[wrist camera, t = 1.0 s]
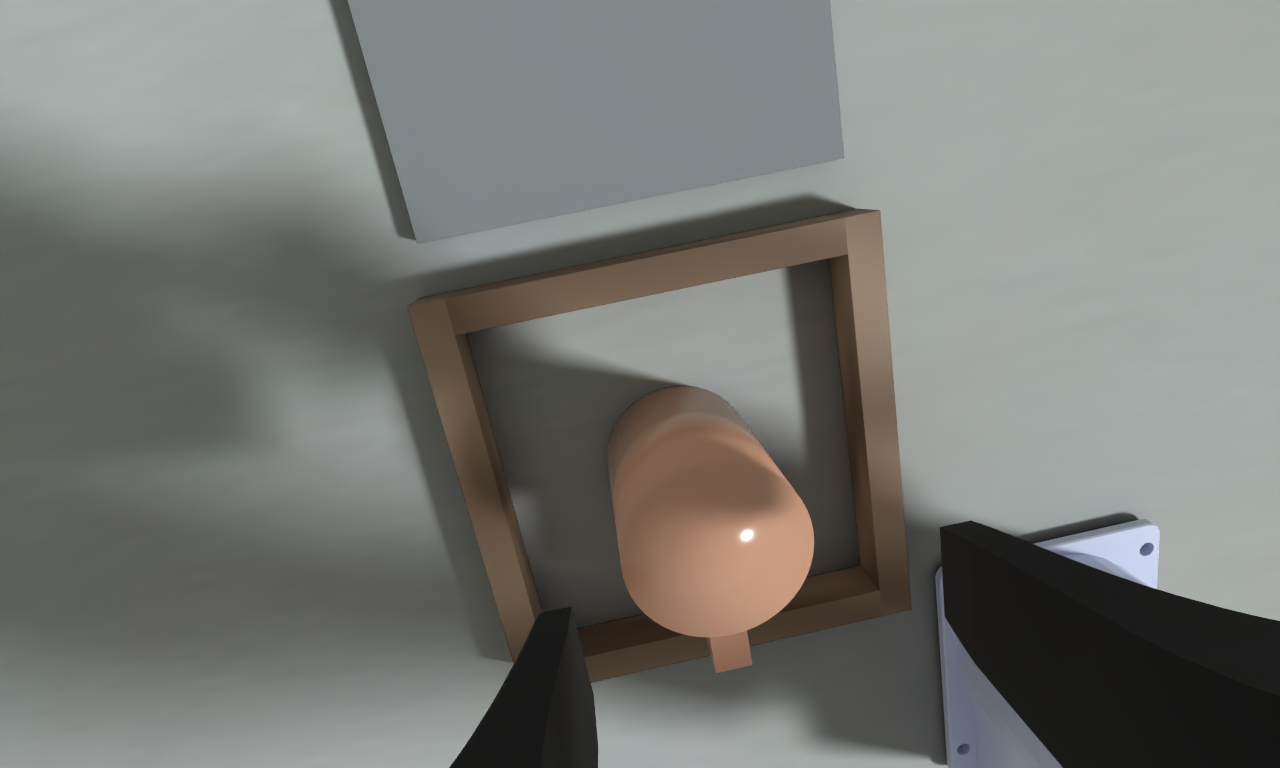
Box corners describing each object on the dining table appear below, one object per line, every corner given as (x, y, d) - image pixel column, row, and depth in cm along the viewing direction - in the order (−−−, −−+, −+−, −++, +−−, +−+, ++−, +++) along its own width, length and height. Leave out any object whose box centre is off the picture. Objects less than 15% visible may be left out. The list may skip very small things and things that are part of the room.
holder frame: (890, 583, 23) (911, 609, 22) (527, 665, 23) (524, 698, 21) (857, 208, 20) (879, 210, 18) (419, 298, 19) (407, 307, 18)
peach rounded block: (593, 403, 21) (602, 486, 15) (738, 372, 21) (802, 443, 15) (633, 581, 22) (654, 717, 17) (765, 552, 23) (831, 676, 17)
